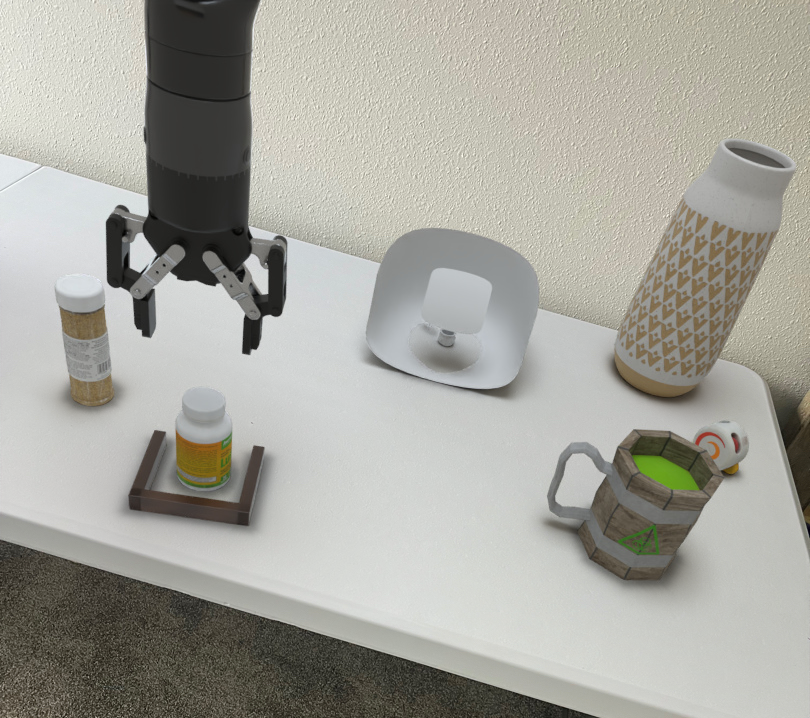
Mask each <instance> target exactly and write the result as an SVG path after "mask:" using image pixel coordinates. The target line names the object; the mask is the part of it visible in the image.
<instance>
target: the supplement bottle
mask: <svg viewBox="0 0 810 718" xmlns="http://www.w3.org/2000/svg"><path fill="white" fill-rule="evenodd" d="M181 398H182V400H181V410H180V411H179V412H178V413H177V415H176V418H175V428H174V429H175V462H176V463H175V464H176V476H177V479H178V480H179V482H180V483H181V484H182V485H183V486H184V487H186V488H187V489H190V490H192V491H196V492H212V491H213V492H214V491H216V490H219V489H221V488H223V487H224V486H225V485H227V484H228V482H229V481H230V479H231V474H232V453H233V452H232V451H233V450H232V449H233V420H232V416H231V415H230V414H229V412H227V410H226V405H227V403H226V402H227V400H226V396H225V395H224V394H223V393H222V392H221V391H220V390H218V389H216V388H213V387H210V386H196V387H191V388H190V389H187V390H186V391H185V392H183V394H182V397H181Z"/></svg>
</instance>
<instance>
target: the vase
mask: <svg viewBox="0 0 810 718" xmlns="http://www.w3.org/2000/svg"><path fill="white" fill-rule="evenodd" d="M796 170H797V164H796V162H795V161H794V160H793V159H792V158H791V157H790V156H788V155H787V154H786V153H784V152H782V151H781V150H778V149H775V148H773V147H771V146H769V145H766V144H764V143H760V142H757V141H752V140H748V139H744V138H735V137H734V138H732V137H731V138H724V139H722V140H721V141H720V142H719V143H718V146H717V147H716V150H715V152H714V154H713V156H712V158H711V160H710V163H709V165H708V166H707V168H706V170H704V171H703V172H702V173H701V174H700V175H699V177H697V179H695V180H694V181H693V182H692V183H691V184H690V185H689V187H688V188H687V189H686V190H685V191H684V192H683V193H684V194H683V195H682V197H681V198H680V201H679V203H678V205H677V207H676V209H675V211H674V212H673V214H672V217H671V219H670V220H669V222H668V225H667V226H666V228H665V231H664V232H663V234H662V236H661V239H660V240H659V243H658V245H657V246H656V249H655V251H654V253H653V255H652V257H651V260H650V261H649V264H648V265H647V268H646V270H645V272H644V273H643V276H642V278H641V279H640V282H639V284H638V286H637V288H636V290H635V292H634V295H633V297H632V299H631V301H630V303H629V305H628V307H627V309H626V311H625V313H624V316H623V318H622V320H621V323H620V325H619V328H618V331H617V333H616V336H615V337H616V338H615V341H614V347H613V351H614V353H613V354H614V363H615V366H616V369H617V372H618V373H619V374H620V376H621V377H622V379H624V381H626V382H627V383H628V384H629V385H630V386H632V387H633V388H635V389H637V390H639V391H641V392H643V393H645V394H648V395H652V396H656V397H659V398H660V397H661V398H675V397H679V396H681V395H684V394H687V393H689V392H690V391H692V390H693V389H695V388H697V387H698V386H699V385H700V384H701V383H702V382H703V381H704V380H705V379H706V378H707V376H708V375H709V374H710V372H711V370H712V369H713V368H714V366H715V364H716V362H717V361H718V359H719V357H720V355H721V354H722V352H723V350H724V348H725V346H726V344H727V341H728V339H729V337H730V335H731V333H732V331H733V328H734V326H735V324H736V323H737V320H738V319H739V316H740V314H741V313H742V310H743V308H744V305H745V303H746V301H747V299H748V297H749V295H750V293H751V291H752V289H753V286H754V285H755V282H756V280H757V278H758V276H759V274H760V272H761V270H762V267H763V265H764V263H765V261H766V259H767V257H768V255H769V253H770V250H771V248H772V245H773V243H774V241H775V239H776V237H777V235H778V232H779V231H780V228H781V224H782V219H783V218H782V217H783V202H784V195H785V193H786V191H787V188H788V186H789V185H790V183H791V180H792V179H793V176H794V174H795V172H796Z"/></svg>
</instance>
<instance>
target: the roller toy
mask: <svg viewBox="0 0 810 718" xmlns="http://www.w3.org/2000/svg"><path fill="white" fill-rule="evenodd" d="M691 442H692V443H694V444H696V445H698V446H700V447H701V448H703V449H705V450H707V451H708V453H709V454H710V456H711V457H712V459H713V461H714V462H715V464H716V465H717V467H718V468H719V470H720V471H723V472H724V473H726V474H728V475H734V474H736V473H737V472H738V471H739V469H740V468H739V467H740V463H741V462H742V461H743V460H744V459H745V458H746V457H747V455H748V453H749V448H750V439H749V435H748V433H747V431H746V430H745V428H744V427H743V426H742V425H741V424H740V423H738V422H736V421H734V420H730V419H722V420H719V421H717V422H712V423H710V424H706V425H705V426H702V427H700V428H699V429H698V430H697V432H696V433H695V434H694V436H693V440H692V441H691Z"/></svg>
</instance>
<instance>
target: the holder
mask: <svg viewBox="0 0 810 718" xmlns="http://www.w3.org/2000/svg"><path fill="white" fill-rule="evenodd" d="M167 442H168V441H167V432H166V431H165V430H160V429H159V430H158V429H154V431H153V433H152V434H151V438H150V441H149V443H148V446H147V448H146V451H145V452H144V455H143V458H142V460H141V462H140V466H139V468H138V470H137V472H136V475H135V477H134V480H133V483H132V485H131V488H130V490H129V493H128V495H127V497H128V506H129V507H128V509H129V510H133V511H139V512H146V513H153V514H161V515H168V516H173V517H174V516H175V517H181V518H188V519H196V520H203V521H209V522H217V523H223V524H224V523H225V524H231V525H238V526H243V527H244V526H245V527H249V526H250V521H251V517H252V513H253V509H254V505H255V499H256V496H257V492H258V488H259V483H260V479H261V474H262V471H263V466H264V461H265V450H266V448H265V446H262V445H257V444H254V445H253V446H252V449H251V454H250V457H249V461H248V466H247V470H246V474H245V478H244V482H243V485H242V490H241V492H240V493H241V494H240V498H239V502H237V501H236V502H235V501H228V500H221V499H215V498H208V497H201V496H193V495H187V494H180V493H174V492H173V493H172V492H168V491H167V492H166V491H160V490H152V489H151V488H152V485H153V483H154V480H155V478H156V475H157V472H158V469H159V467H160V465H161V462H162V459H163V456H164V453H165V452H166V449H167Z"/></svg>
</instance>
